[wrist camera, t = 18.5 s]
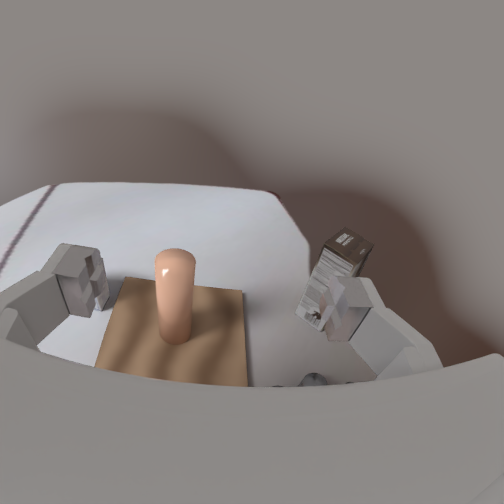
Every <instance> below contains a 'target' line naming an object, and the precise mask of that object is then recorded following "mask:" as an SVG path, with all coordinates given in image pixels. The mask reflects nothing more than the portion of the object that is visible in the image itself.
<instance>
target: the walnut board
mask: <svg viewBox="0 0 504 504" xmlns="http://www.w3.org/2000/svg"><path fill="white" fill-rule="evenodd" d="M95 367H96V368H101V369H105V370H110V371H115V372H120V373H125V374H130V375H136V376H141V377H147V378H154V379H161V380H168V381H176V382H185V383H194V384H205V385H218V386H236V387H248V380H247V365H246V349H245V333H244V316H243V298H242V290H232V289H222V288H213V287H204V286H195V285H194V290H193V305H192V323H191V336H190V338H189V339H188V340H187V341H186V342H185V343H183V344H179V345H173V344H169V343H167V342H165V341H164V340H163V339H162V338H161V337H160V334H159V324H158V312H157V298H156V281H154V280H146V279H139V278H132V277H125V279H124V282H123V284H122V287H121V290H120V292H119V295H118V297H117V300H116V303H115V306H114V308H113V311H112V314H111V317H110V320H109V322H108V325H107V328H106V331H105V334H104V337H103V340H102V344H101V347H100V350H99V353H98V357H97V360H96V363H95Z"/></svg>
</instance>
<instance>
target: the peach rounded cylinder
mask: <svg viewBox="0 0 504 504" xmlns="http://www.w3.org/2000/svg"><path fill="white" fill-rule="evenodd" d="M195 264H196V261H195V258H194V256H193V255H192V254H191V253H189V252H188V251H185V250H182V249H167V250H164V251H162V252H160V253H159V254H158V255H157V256H156V258H155V280H156V298H157V312H158V324H159V334H160V337H161V338H162V339H163V340H164V341H165V342H167V343H169V344H173V345H179V344H183V343H185V342H186V341H187V340H188V339H189V338H190V336H191V323H192V305H193V290H194V276H195Z"/></svg>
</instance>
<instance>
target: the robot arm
mask: <svg viewBox="0 0 504 504" xmlns="http://www.w3.org/2000/svg"><path fill="white" fill-rule="evenodd" d="M100 260H101V256H100V251H99V250H98V249H97V248H91V247H85V246H78V245H71V244H65V243H62V244H59V246H58V247H57V248H56V250H55V251H54V252H53V254H52V255H51V257H50V258H49V259H48V261H47V262H46V264H45V265H44V267H43V268H42V269H41V271H36V272H34V273H32V274H31V275H29V276H27V277H26V278H24V279H22V280H20V281H19V282H17V283H15V284H14V285H12V286H11V287H9V288H7V289H6V290H4V291H2V292H1V293H0V504H504V358H503V357H502V356H501V355H499V354H490V355H487V356H484V357H481V358H478V359H474V360H471V361H467V362H464V363H460V364H457V365H453V366H449V367H445V368H443V366H442V363H441V362H440V359H439V357H438V355H437V353H436V351H435V349H434V347H433V345H432V343H431V342H430V341H428V340H427V339H426V338H425V337H424V336H422V335H421V334H420V333H419V332H418V331H416V330H415V329H414V328H413V327H411V326H410V325H409V324H408V323H407V322H405V321H404V320H403V319H402V318H400V317H399V316H398V315H397V314H395V313H394V312H393V311H392V310H390V309H389V308H386V307H385V305H384V303H383V301H382V300H381V298H380V296H379V294H378V292H377V290H376V288H375V286H374V285H373V283H372V281H371V280H370V279H369V278H362V277H345V276H332V277H331V278H330V279H329V281H328V287H329V289H328V290H326V291H325V292H324V293H323V294H322V297H321V299H320V305H319V310H320V315H321V318H322V319H323V320H325V321H326V324H325V326H324V328H325V332H326V335H327V338H328V341H349V342H348V343H349V344H350V345H351V346H352V347H353V348H354V350H355V351H356V352H357V353H358V354H359V355H360V356H361V358H362V359H363V360H364V361H365V362H366V363H367V364H368V366H369V367H370V368H371V369H372V370H373V371H374V372H375V374H376V375H377V377H376V378H375V379H374V380H373V381H367V382H358V383H349V384H338V385H325V386H307V387H236V386H218V385H205V384H194V383H185V382H176V381H168V380H161V379H154V378H147V377H141V376H136V375H130V374H125V373H120V372H115V371H110V370H105V369H101V368H96V367H92V366H88V365H84V364H80V363H76V362H73V361H69V360H66V359H62V358H59V357H55V356H52V355H49V354H46V353H43V352H41V351H40V350H39V348H38V347H37V345H38V344H39V343H40V342H41V341H42V340H43V339H44V338H45V337H46V336H47V335H49V334H50V333H51V332H52V331H53V330H54V329H55V328H56V327H57V326H58V325H60V324H61V323H62V322H63V321H64V320H65V319H66V318H67V317H69V316H70V315H69V314H71V315H76V316H81V317H87V318H90V317H91V315H92V312H93V310H94V307H95V305H96V302H95V298H96V297H97V296H99V295H100V293H101V291H102V289H103V283H104V272H103V268H102V267H101V266H100V265H99V264H98V263H99V262H100Z"/></svg>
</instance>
